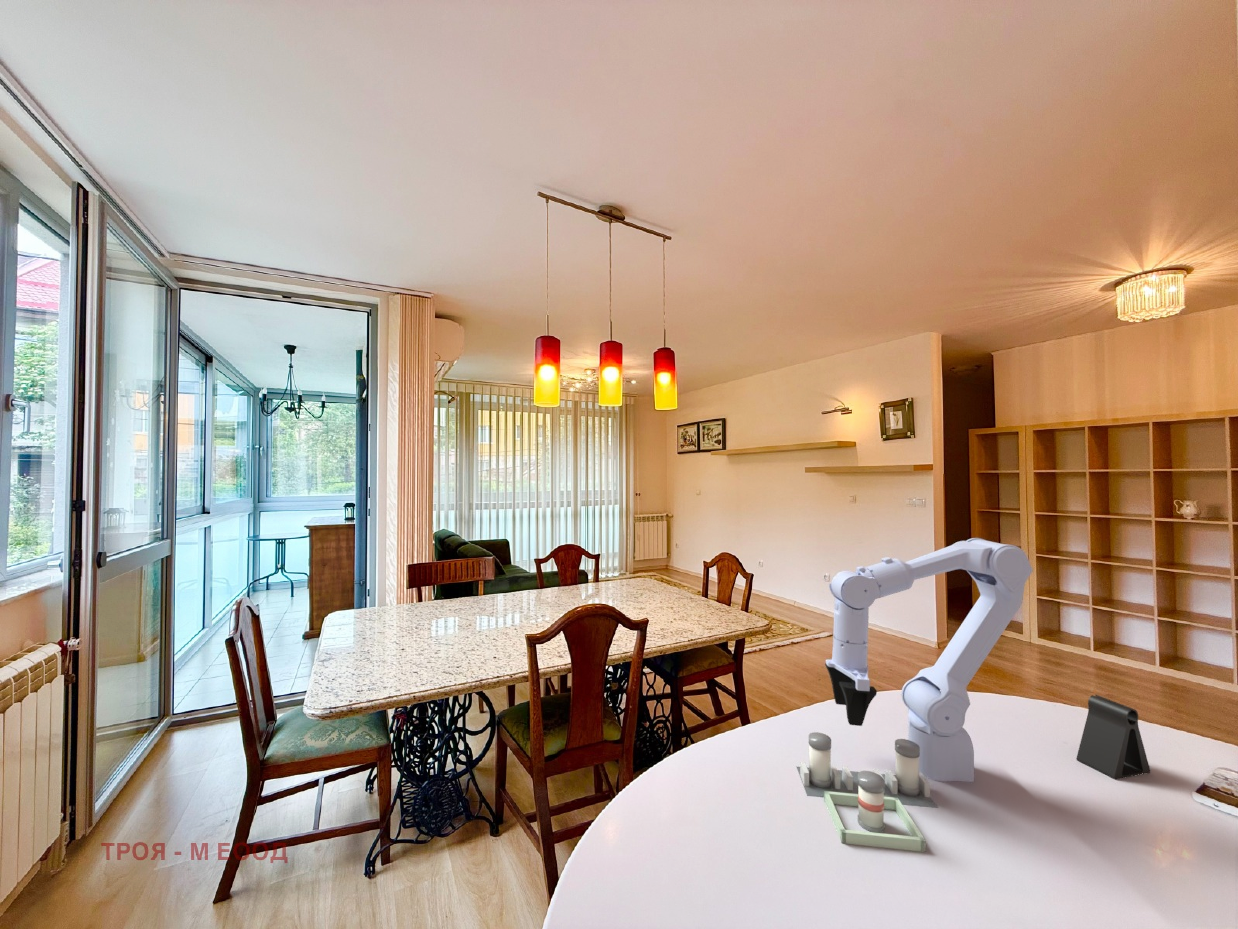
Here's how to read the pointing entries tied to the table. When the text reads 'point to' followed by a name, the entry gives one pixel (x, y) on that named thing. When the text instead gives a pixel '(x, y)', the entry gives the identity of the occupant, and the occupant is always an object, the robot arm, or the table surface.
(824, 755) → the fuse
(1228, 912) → the table surface
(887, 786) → the clip board
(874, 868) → the table surface
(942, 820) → the table surface
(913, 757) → the fuse
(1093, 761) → the phone stand
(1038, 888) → the table surface
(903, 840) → the tray
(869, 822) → the marked fuse
